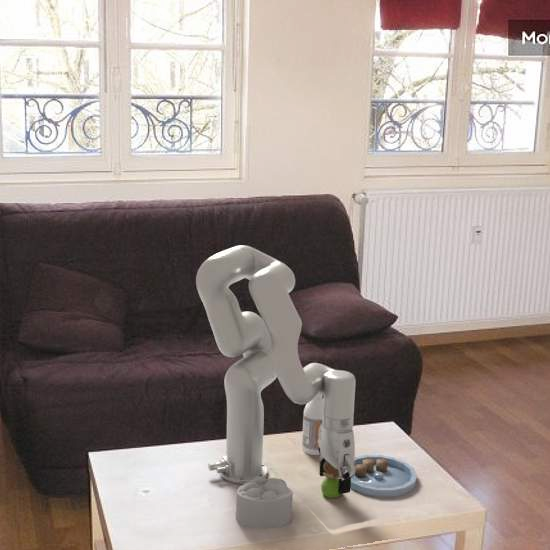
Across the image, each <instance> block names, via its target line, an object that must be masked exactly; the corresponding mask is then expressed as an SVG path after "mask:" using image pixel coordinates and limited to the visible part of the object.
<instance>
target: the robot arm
mask: <svg viewBox="0 0 550 550" xmlns="http://www.w3.org/2000/svg"><path fill="white" fill-rule="evenodd" d="M196 273H197V274H196V276H195V285H196V290H197V293H198V296H199V298H200V300H201V302H202V303H203V306H204V309H205V312H206V316H207V318H208V319H207V320H208V322H209V325H210V327H211V330H212V332H213V333H212V334H213V336H214V339H215V343H216V345H217V348H218V349H219V350H218V351H220V352H221V353H222V355H224V356H225V357H228V358H235V357H239V356H241V355H242V356H243V357H242V358H241V359H239V360H237V361H235V363H233V364H232V365H230V367H229V368H228V369H227V371H226V373H225V376H224V384H223V385H224V391H225V396H226V398H225V399H226V450H225V451H226V454H225V455H223V456H222V459H220V460H219V461H217V462H210V463H208V470H209V471H216V473H217V474H220V477H222V478H223V479H224V480H226V481H228V482H230V483H232V484H238V485H244V484H245V483H247V482H249V481H252V480H253V479H254V478H255V477H257V476H263V477H265V478H266V479H267V477H268V474H269V468H268V467H267V465H266V464H265V463H264V462H263V457H264V456H263V455H264V454H263V451H264V450H263V449H264V421H265V418H264V417H265V415H264V413H265V411H264V403H263V400H262V396H261V393H262V391H263V390H264V389H265V388H266V387H268V386H269V385H271V384H272V383H273V382H274V381H275V380H276V379H277V380H278V382H279V384H280V386H281V387H282V390H283V391H284V393H285V394H286V396H287V397H288V399H289V400H290V401H292V402H293V403H294V404H298V405H306V404H307V403H309V402H310V401H312V400H313V399H314V398H315V397H317V396H318V395H320V394H323V400H324V401H323V422H322V433H321V439H318V445H319V450H318V451H319V453H320V455H318V456H319V457H318V458H319V459H318V460H319V474H318V475H319V476H320V477H325V476H324V475H323V473H326V472H325V471H324V469H323V465H324V463H325V462H326V461H328V462H329V463H330V464H331V465H332V466H333V467H334V468H336V469H337V470H338V471H339V475H340V478H338V479H339V483H338V493H339V494H341V495H344V494H348V493H350V492H351V490H352V489H351V479H352V477H353V476H354V472H355V470H356V468H355V466H354V462H355V457H356V455H355V454H356V451H355V450H356V449H355V445H356V444H355V435H354V434H355V433H354V430H353V428H354V413H355V398H356V397H355V395H356V394H355V393H356V377H355V375H354V374H353V373H351V372H350V371H346V370H341V369H340V370H339V369H335V368H332V367H329V366H327V365H325V364H322V363H318V362H311V363H309V364H307V365H305V366H304V367H303V365H302V363H301V360H300V357H299V349H298V348H299V347H298V345H299V339H300V335H301V332H302V327H303V322H302V321H303V320H302V319H301V317H300V315H299V312H298V311H297V308H296V307H295V304H294V303H293V300H292V299H291V296H290V294H289V293H291V292H292V291H293V289H294V288H295V285H296V277H295V274H294V272H293V271H292V269H291V268H290V267H288V265H286V264H285V263H284V262H282V261H281V260H278V259H277V258H274V257H272V256H270V255H269V254H266V253H265V252H262V251H260V250H259V249H256V248H254V247H252V246H249V245H243V244H241V245H235V246H233V247H230V248H227V249H224V250H222V251H219V252H217V253H215V254H213V255H211V256H210V257H208V258H207V259H205V261H204V262H202V264H200V267H199V268H198V269H197V272H196ZM243 279H247V280H249V281H248V291H249V293H250V296H251V298H252V300H253V302H254V304H255V307H256V309H257V310H258V313H259V315H258V314H257V313H255V312H253V311H248V310H247V311H242V310H241V308H240V304H239V301H238V299H237V297H236V295H235V294H234V293H233V292H232V290H231V289H230V288H229V287H230V286H231V285H232V284H234V283H237V282H239V281H241V280H243ZM343 464H345V465H346V466H343ZM344 469H346V470H347V472H346V473H345V474H343V471H342V470H344Z"/></svg>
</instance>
